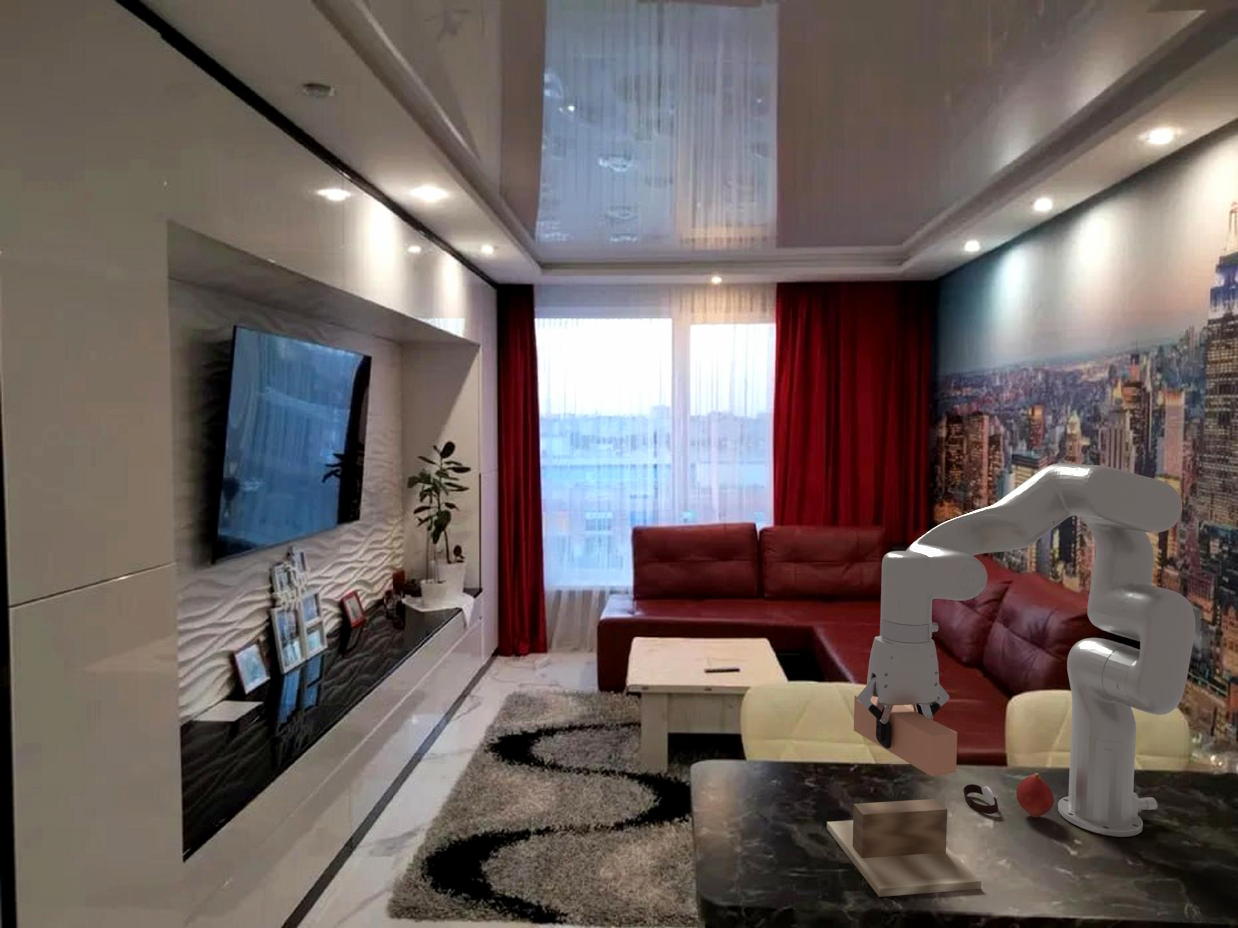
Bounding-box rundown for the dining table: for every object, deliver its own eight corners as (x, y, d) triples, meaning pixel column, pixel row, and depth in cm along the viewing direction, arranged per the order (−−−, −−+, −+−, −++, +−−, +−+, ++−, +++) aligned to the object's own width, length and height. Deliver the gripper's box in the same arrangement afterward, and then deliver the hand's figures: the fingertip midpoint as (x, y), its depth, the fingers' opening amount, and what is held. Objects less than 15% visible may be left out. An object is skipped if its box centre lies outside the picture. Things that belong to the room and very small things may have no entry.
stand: (915, 822, 133) (916, 776, 133) (980, 888, 115) (982, 834, 114) (826, 828, 131) (828, 781, 131) (879, 896, 112) (880, 841, 112)
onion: (1008, 812, 137) (1009, 768, 137) (1030, 806, 140) (1032, 762, 139) (1037, 828, 132) (1039, 782, 132) (1060, 821, 134) (1062, 776, 134)
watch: (1005, 816, 136) (1006, 795, 136) (981, 817, 136) (981, 797, 135) (979, 795, 144) (979, 776, 144) (955, 796, 143) (956, 777, 143)
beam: (875, 726, 131) (876, 692, 131) (955, 771, 114) (957, 732, 114) (853, 730, 130) (854, 695, 129) (931, 776, 113) (933, 736, 112)
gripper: (943, 623, 126) (939, 732, 127) (843, 626, 123) (840, 736, 124) (970, 636, 118) (966, 751, 119) (864, 639, 116) (861, 756, 117)
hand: (901, 742), depth 122 cm, fingers closed on beam, 5 cm apart
